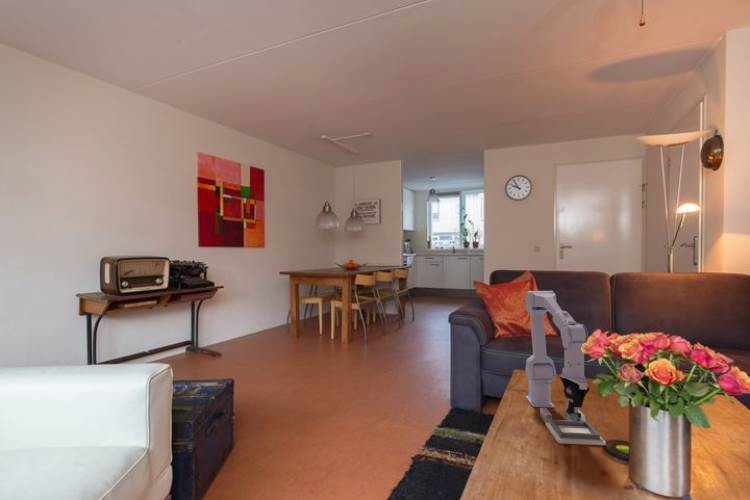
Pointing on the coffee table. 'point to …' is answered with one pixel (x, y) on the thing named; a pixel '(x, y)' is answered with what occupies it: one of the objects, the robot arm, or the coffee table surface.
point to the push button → (571, 407)
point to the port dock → (574, 432)
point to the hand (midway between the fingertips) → (574, 403)
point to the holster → (547, 415)
